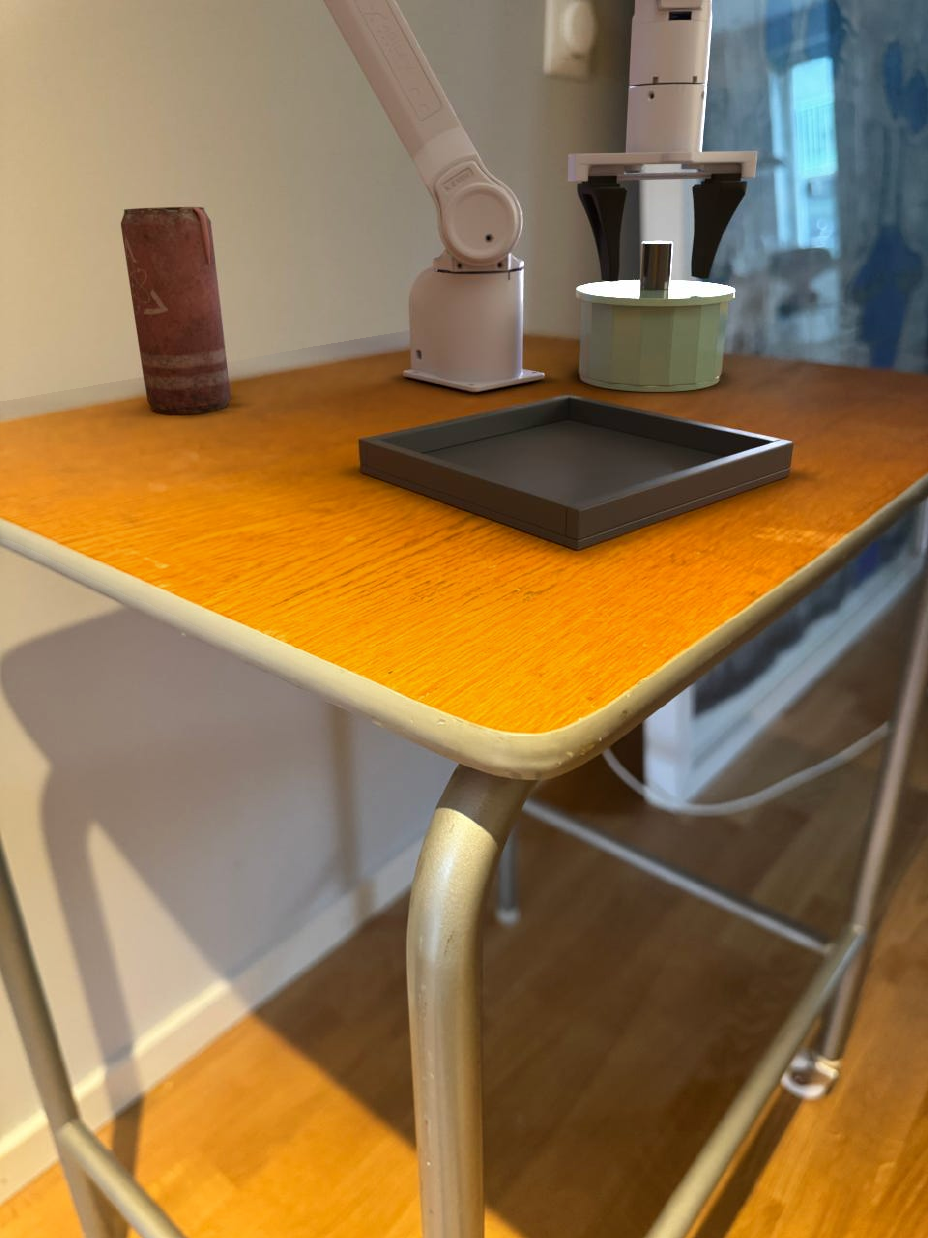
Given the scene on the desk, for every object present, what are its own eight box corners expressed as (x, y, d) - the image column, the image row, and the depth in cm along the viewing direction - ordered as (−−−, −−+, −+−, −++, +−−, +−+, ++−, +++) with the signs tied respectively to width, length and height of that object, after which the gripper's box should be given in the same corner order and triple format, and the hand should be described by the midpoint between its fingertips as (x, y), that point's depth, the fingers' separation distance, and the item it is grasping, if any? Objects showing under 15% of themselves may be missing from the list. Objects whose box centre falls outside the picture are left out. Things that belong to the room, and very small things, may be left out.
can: (214, 416, 71) (188, 207, 65) (133, 414, 72) (101, 208, 66) (247, 398, 76) (226, 204, 71) (172, 396, 78) (145, 205, 72)
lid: (550, 309, 77) (551, 246, 75) (609, 291, 87) (612, 235, 85) (706, 318, 72) (712, 250, 70) (751, 298, 82) (757, 238, 80)
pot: (556, 384, 80) (558, 301, 77) (609, 360, 89) (613, 285, 86) (695, 397, 75) (702, 309, 72) (736, 371, 84) (744, 291, 81)
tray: (359, 472, 58) (357, 438, 57) (567, 422, 68) (568, 393, 67) (577, 550, 46) (578, 510, 45) (789, 475, 56) (794, 441, 55)
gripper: (589, 82, 68) (582, 287, 74) (783, 82, 70) (762, 280, 76) (562, 90, 74) (557, 278, 80) (740, 89, 77) (724, 272, 82)
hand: (655, 279), depth 79 cm, fingers open, 7 cm apart
